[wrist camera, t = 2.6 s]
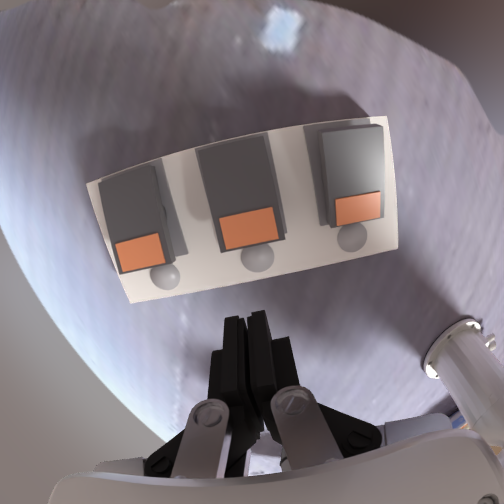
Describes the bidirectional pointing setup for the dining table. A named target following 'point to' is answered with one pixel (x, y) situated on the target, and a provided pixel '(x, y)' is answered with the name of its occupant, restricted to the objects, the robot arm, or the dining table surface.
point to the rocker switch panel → (291, 209)
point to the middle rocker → (241, 194)
